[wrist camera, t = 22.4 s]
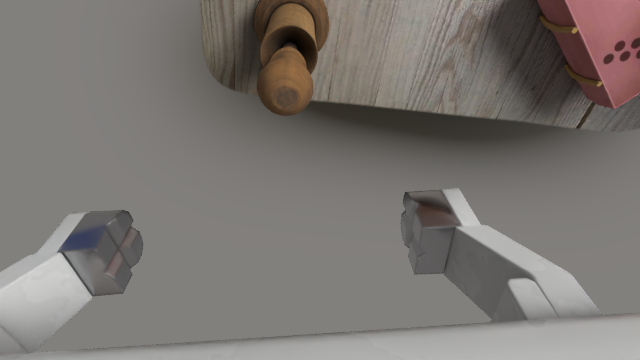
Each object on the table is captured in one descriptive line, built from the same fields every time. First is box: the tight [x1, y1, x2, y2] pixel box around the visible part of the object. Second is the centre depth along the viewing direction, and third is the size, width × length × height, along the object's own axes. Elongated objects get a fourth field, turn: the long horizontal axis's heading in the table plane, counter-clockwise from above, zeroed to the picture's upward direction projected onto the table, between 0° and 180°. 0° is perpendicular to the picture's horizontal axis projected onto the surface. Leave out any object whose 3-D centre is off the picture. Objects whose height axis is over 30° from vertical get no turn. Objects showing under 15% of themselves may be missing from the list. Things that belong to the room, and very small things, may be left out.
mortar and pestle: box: [254, 0, 329, 116], centre depth 25 cm, size 7×6×18 cm
